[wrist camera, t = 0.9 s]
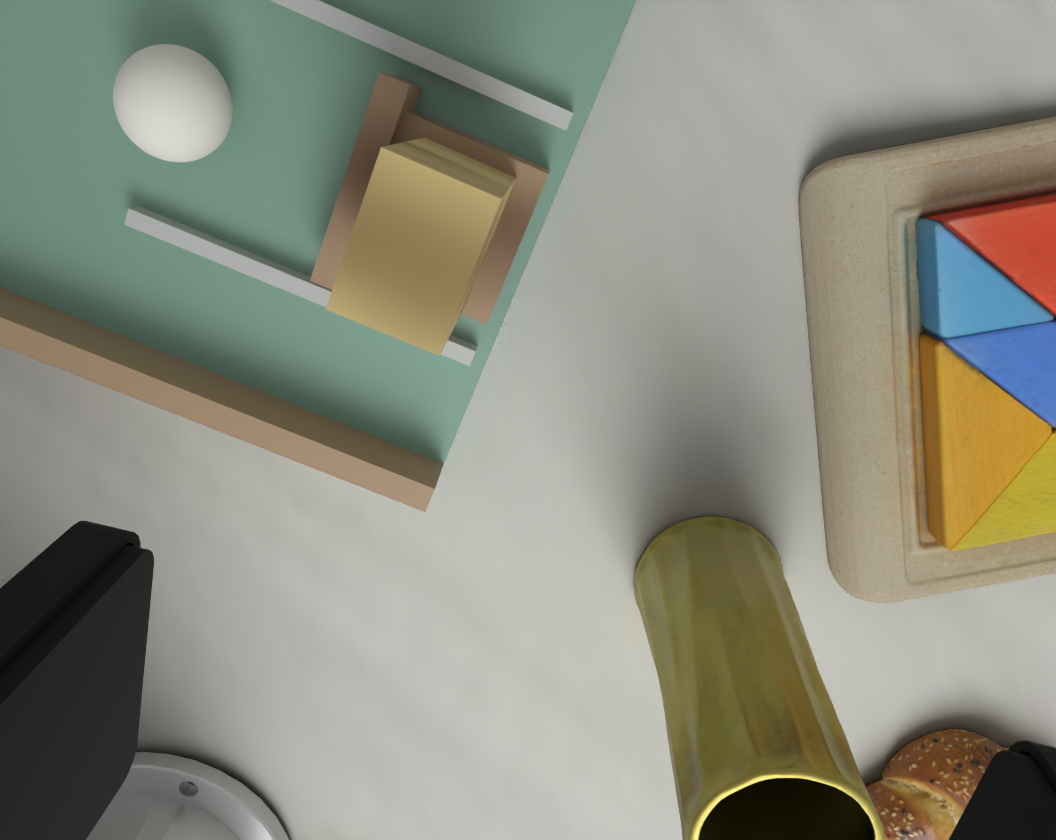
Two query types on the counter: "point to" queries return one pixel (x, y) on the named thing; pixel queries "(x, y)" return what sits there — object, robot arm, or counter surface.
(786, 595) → the vase
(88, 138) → the pitch
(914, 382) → the wooden puzzle
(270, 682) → the counter surface
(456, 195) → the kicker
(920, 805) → the sesame bagel
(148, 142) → the ball
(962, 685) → the counter surface
